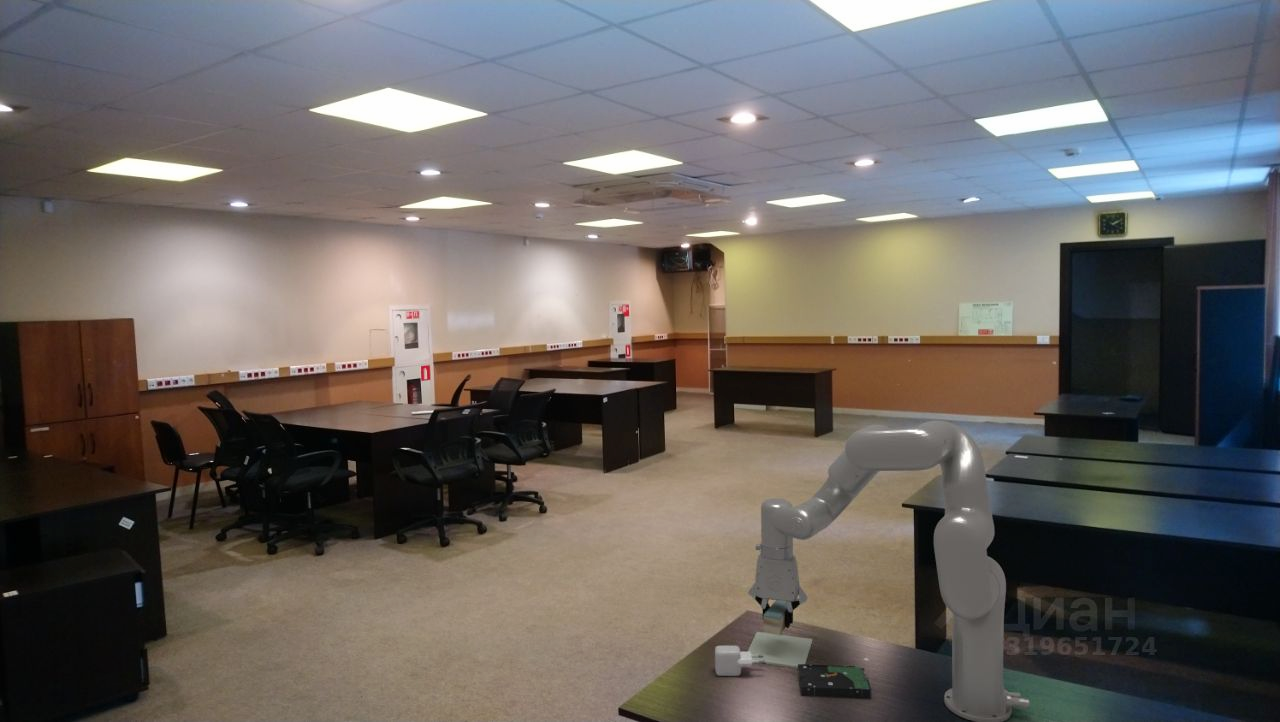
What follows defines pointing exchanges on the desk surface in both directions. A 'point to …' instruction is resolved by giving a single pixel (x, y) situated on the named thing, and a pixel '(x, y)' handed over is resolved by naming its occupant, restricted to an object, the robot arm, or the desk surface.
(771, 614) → the teal-faced wooden block
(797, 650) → the mat
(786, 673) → the desk surface
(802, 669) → the disk drive
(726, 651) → the power adapter
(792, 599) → the robot arm
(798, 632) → the desk surface
